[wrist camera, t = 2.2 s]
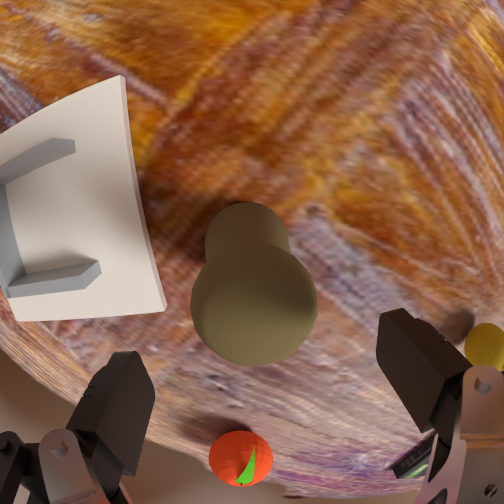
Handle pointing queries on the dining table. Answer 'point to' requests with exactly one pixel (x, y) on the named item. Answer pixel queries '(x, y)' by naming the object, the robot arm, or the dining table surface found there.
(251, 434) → the clementine
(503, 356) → the lemon
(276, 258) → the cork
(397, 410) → the dining table surface
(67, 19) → the dining table surface
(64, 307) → the U-rest
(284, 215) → the dining table surface
